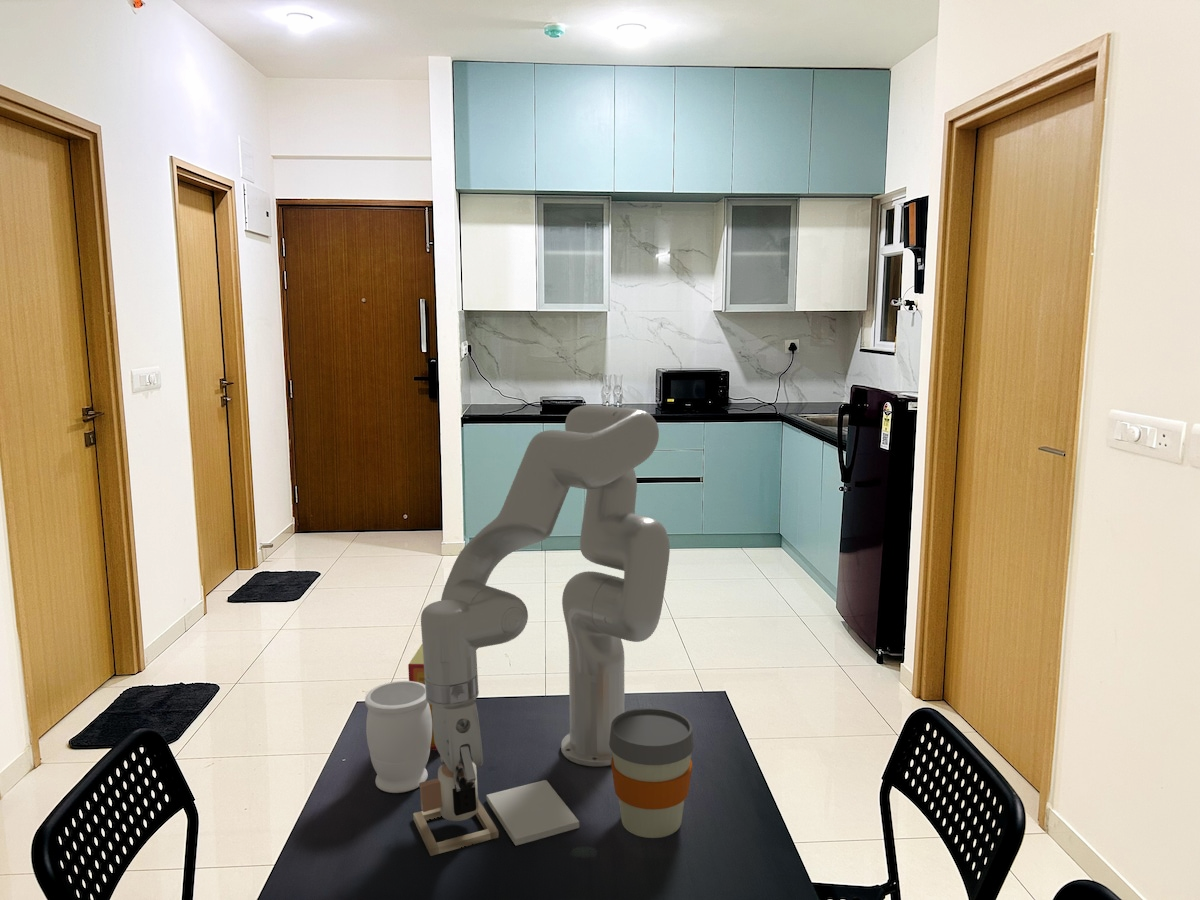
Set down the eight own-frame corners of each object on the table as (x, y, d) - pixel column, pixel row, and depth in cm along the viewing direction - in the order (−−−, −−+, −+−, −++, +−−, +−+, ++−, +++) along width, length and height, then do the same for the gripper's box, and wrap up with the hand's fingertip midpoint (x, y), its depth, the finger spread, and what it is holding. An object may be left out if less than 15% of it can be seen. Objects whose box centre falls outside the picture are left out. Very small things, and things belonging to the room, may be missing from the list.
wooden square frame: (477, 803, 134) (477, 797, 134) (498, 837, 125) (498, 831, 125) (413, 819, 130) (413, 813, 130) (430, 856, 121) (430, 849, 121)
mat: (545, 785, 139) (545, 779, 139) (579, 827, 128) (579, 821, 127) (486, 800, 135) (486, 794, 135) (515, 845, 123) (515, 839, 123)
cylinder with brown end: (472, 795, 132) (469, 753, 130) (483, 814, 127) (481, 771, 125) (418, 810, 128) (415, 767, 127) (427, 830, 123) (424, 786, 122)
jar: (418, 801, 135) (414, 710, 133) (357, 794, 137) (352, 705, 135) (443, 766, 145) (440, 682, 143) (386, 761, 147) (382, 677, 145)
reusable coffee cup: (619, 850, 122) (619, 751, 120) (602, 802, 134) (601, 711, 132) (704, 839, 124) (705, 742, 122) (679, 793, 137) (680, 703, 134)
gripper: (496, 704, 118) (502, 824, 122) (459, 659, 134) (466, 767, 137) (442, 717, 115) (450, 840, 118) (411, 669, 131) (419, 779, 134)
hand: (458, 799), depth 128 cm, fingers closed on cylinder with brown end, 5 cm apart
